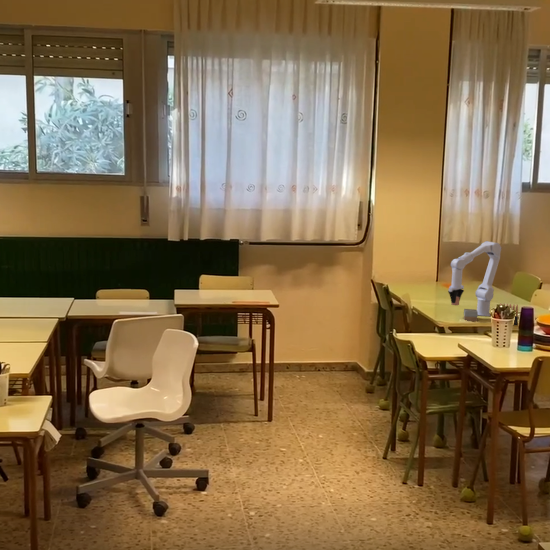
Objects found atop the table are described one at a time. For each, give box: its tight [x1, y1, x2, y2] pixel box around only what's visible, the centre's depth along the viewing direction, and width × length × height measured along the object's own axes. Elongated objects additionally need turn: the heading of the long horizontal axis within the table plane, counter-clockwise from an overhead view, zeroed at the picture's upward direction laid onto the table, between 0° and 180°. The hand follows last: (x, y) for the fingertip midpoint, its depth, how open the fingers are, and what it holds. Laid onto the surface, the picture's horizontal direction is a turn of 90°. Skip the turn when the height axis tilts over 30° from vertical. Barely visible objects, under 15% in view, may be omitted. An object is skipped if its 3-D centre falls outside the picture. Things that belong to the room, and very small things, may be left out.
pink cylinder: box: [451, 297, 461, 306], centre depth 408 cm, size 4×4×4 cm
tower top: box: [463, 308, 479, 318], centre depth 402 cm, size 7×7×3 cm
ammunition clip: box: [499, 303, 519, 326], centre depth 392 cm, size 11×2×12 cm, turn 79°
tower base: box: [463, 315, 478, 322], centre depth 402 cm, size 7×7×3 cm
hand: (455, 302), depth 408 cm, fingers closed on pink cylinder, 4 cm apart
